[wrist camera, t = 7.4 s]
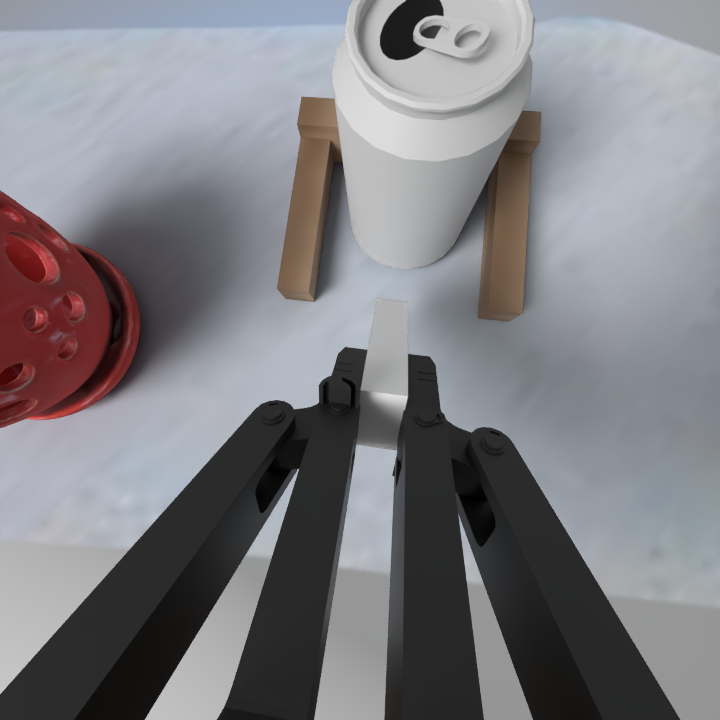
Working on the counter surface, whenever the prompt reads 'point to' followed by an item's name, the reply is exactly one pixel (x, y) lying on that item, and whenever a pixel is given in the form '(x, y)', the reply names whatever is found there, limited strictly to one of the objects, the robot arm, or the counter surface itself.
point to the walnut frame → (501, 217)
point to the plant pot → (58, 321)
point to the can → (426, 116)
